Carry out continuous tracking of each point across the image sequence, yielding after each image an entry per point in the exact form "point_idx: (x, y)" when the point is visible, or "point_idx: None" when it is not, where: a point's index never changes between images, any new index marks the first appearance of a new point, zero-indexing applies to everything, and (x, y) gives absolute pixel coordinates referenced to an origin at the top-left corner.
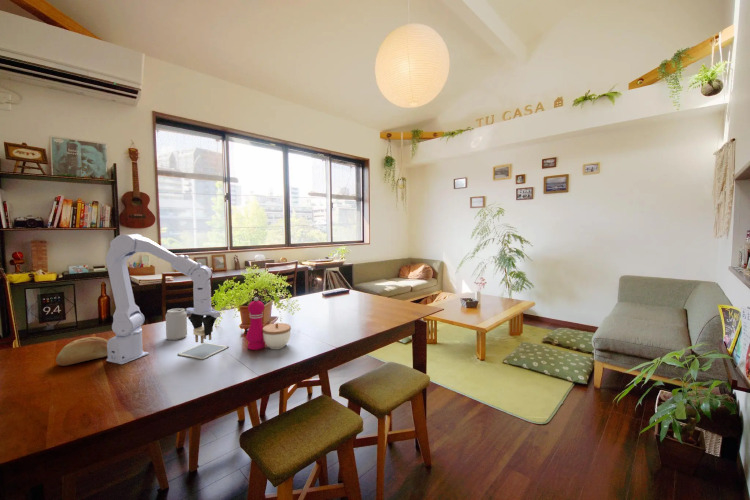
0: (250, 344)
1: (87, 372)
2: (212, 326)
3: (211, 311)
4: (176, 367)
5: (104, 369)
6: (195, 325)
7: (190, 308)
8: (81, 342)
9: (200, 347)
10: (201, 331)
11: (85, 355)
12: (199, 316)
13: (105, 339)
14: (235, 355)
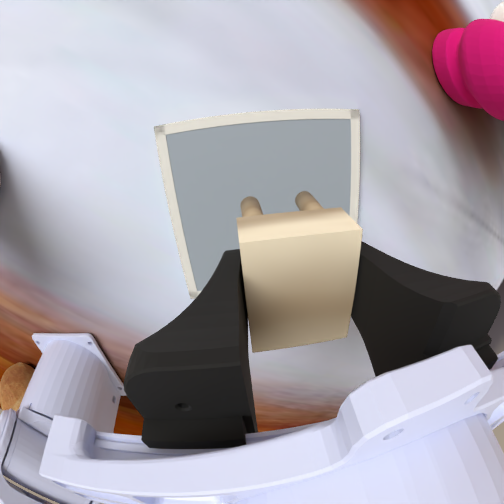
0: (473, 101)
1: (122, 419)
2: (392, 263)
3: (499, 419)
4: (303, 346)
5: (129, 408)
6: (247, 355)
7: (100, 498)
8: None
9: (209, 191)
10: (342, 332)
11: None
12: (250, 397)
13: (13, 404)
14: (441, 179)
